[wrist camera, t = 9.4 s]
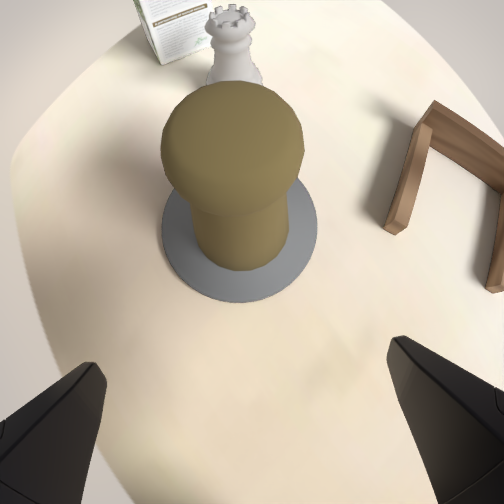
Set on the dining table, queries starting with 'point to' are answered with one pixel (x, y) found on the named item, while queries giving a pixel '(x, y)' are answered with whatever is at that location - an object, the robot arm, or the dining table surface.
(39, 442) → the robot arm
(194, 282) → the coaster
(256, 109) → the cork
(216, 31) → the rook chess piece
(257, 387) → the dining table surface
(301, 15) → the dining table surface
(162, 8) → the syrup box
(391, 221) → the holder
